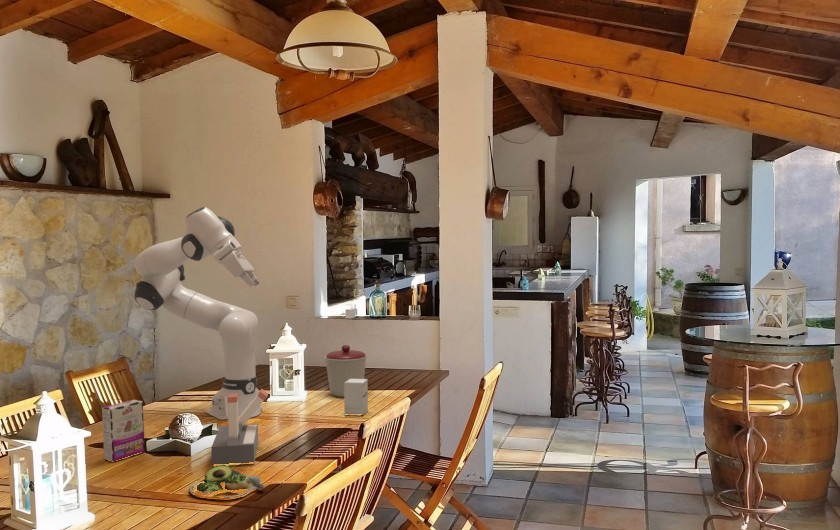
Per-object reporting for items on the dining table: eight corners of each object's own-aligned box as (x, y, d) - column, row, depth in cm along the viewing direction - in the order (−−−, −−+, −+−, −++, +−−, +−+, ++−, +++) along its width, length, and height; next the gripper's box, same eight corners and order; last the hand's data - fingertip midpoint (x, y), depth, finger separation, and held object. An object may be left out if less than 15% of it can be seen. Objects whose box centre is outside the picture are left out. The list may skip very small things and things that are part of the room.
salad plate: (281, 483, 188) (281, 466, 188) (242, 507, 172) (241, 489, 172) (223, 474, 196) (222, 458, 195) (179, 497, 179) (179, 480, 179)
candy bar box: (135, 450, 217) (133, 398, 217) (145, 453, 215) (144, 400, 214) (102, 460, 208) (101, 406, 207) (112, 463, 205) (111, 408, 204)
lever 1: (228, 444, 202) (227, 397, 202) (230, 439, 208) (229, 393, 207) (237, 443, 203) (236, 397, 202) (239, 438, 208) (238, 393, 207)
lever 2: (232, 426, 217) (260, 392, 218) (233, 422, 222) (261, 388, 223) (239, 431, 218) (267, 396, 219) (240, 427, 223) (268, 393, 224)
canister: (362, 388, 302) (361, 340, 301) (372, 397, 285) (372, 347, 284) (321, 391, 296) (320, 343, 295) (329, 401, 279) (328, 349, 278)
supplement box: (363, 416, 255) (362, 382, 255) (343, 415, 257) (343, 382, 256) (368, 411, 263) (368, 378, 262) (349, 410, 264) (349, 378, 264)
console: (211, 467, 201) (211, 438, 200) (220, 444, 223) (219, 418, 223) (254, 464, 203) (253, 436, 202) (258, 442, 225) (257, 416, 225)
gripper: (225, 257, 227) (252, 290, 227) (212, 257, 206) (241, 292, 207) (241, 245, 227) (267, 278, 228) (228, 243, 207) (258, 279, 207)
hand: (255, 285), depth 217 cm, fingers open, 8 cm apart
